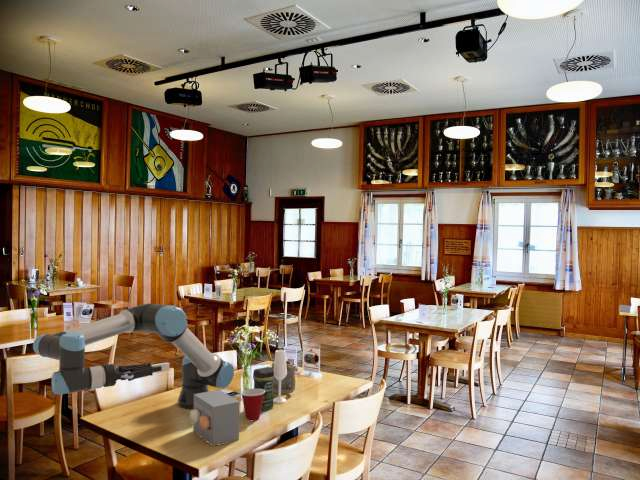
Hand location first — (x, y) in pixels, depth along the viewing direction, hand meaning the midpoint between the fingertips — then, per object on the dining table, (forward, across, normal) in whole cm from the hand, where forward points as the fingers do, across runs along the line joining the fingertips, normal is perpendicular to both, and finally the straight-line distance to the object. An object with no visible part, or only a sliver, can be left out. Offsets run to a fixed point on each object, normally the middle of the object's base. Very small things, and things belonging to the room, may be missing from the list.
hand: (168, 366), depth 188 cm
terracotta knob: (+17, +6, -25) cm, 30 cm away
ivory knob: (+17, -3, -25) cm, 30 cm away
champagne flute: (+63, -19, -30) cm, 72 cm away
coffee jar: (+51, -14, -30) cm, 61 cm away
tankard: (+73, -28, -30) cm, 84 cm away
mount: (+19, +2, -30) cm, 36 cm away
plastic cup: (+40, -6, -30) cm, 51 cm away
